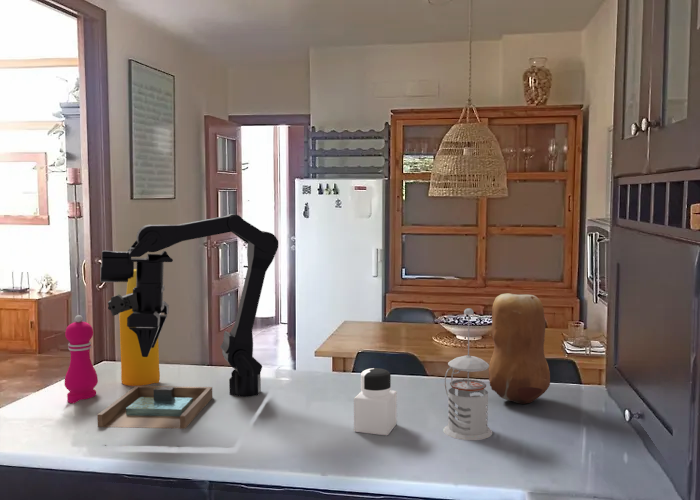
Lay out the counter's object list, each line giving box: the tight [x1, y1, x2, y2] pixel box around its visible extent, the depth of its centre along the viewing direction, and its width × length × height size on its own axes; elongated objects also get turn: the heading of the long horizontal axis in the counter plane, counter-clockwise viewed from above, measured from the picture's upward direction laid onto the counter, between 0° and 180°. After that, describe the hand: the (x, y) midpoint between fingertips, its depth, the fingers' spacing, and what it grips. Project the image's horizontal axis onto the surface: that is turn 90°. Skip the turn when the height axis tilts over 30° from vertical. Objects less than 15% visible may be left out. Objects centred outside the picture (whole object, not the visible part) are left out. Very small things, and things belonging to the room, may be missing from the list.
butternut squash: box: [488, 292, 551, 405], centre depth 151 cm, size 14×13×25 cm
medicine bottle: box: [353, 367, 398, 436], centre depth 135 cm, size 7×7×12 cm
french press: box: [443, 308, 493, 441], centre depth 133 cm, size 10×12×25 cm
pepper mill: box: [64, 314, 99, 405], centre depth 154 cm, size 7×7×20 cm
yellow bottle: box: [118, 268, 161, 387], centre depth 166 cm, size 9×9×29 cm
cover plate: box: [126, 387, 193, 416], centre depth 144 cm, size 12×8×4 cm, turn 86°
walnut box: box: [96, 385, 214, 430], centre depth 143 cm, size 18×20×4 cm
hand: (148, 352), depth 147 cm, fingers open, 9 cm apart
